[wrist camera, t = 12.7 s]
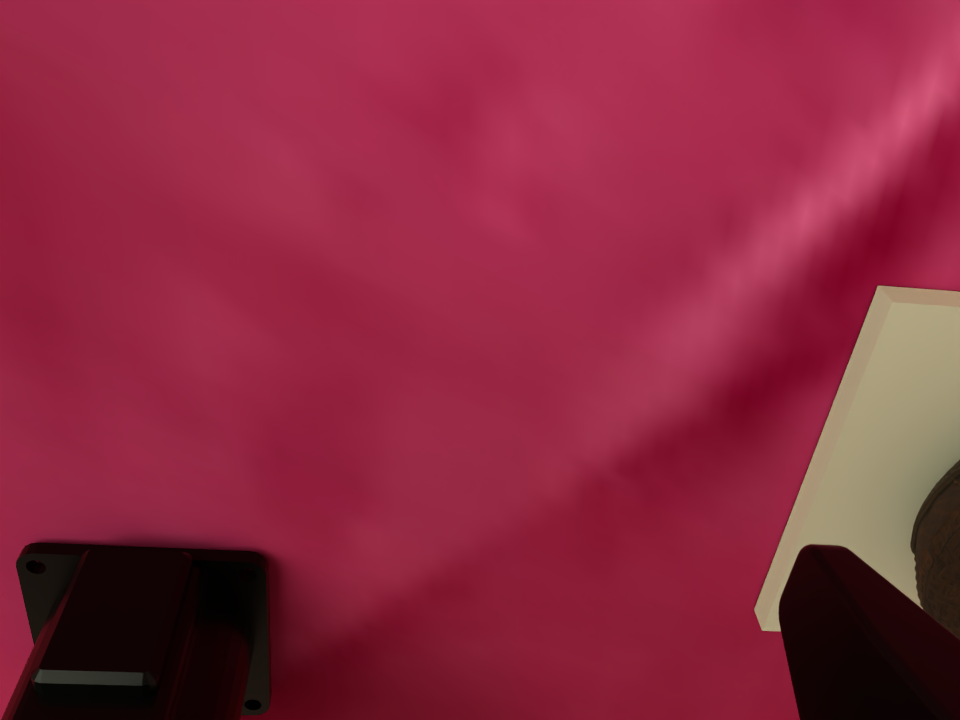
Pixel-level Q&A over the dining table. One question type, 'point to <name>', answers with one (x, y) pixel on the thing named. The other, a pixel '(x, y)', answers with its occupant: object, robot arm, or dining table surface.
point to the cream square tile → (880, 442)
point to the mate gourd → (939, 551)
